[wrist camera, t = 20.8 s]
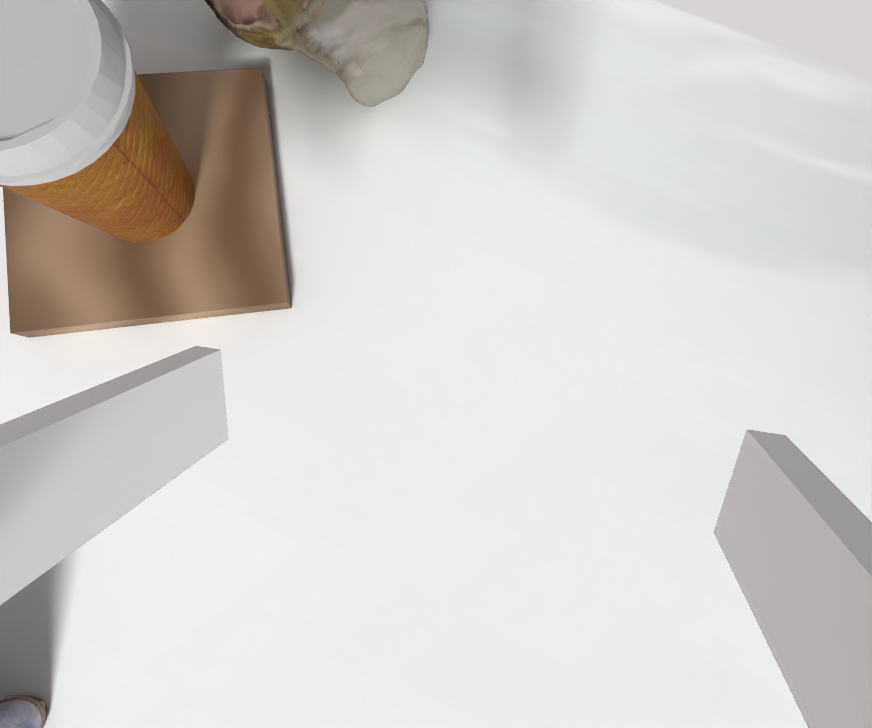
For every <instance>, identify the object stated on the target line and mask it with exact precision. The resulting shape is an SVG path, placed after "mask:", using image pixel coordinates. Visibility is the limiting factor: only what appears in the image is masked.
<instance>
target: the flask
mask: <svg viewBox="0 0 872 728" xmlns="http://www.w3.org/2000/svg"><path fill="white" fill-rule="evenodd" d="M46 717H47V716H46V712H45V702H44V701H42V700H38V699H35V698H30V697H28V696H14V695H13V696H8V697H7V698H6V700H3V701H0V728H43V727H44V725H45V724H46V720H47V718H46ZM44 719H45V721H44ZM43 723H44V724H43ZM42 726H43V727H42Z"/></svg>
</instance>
